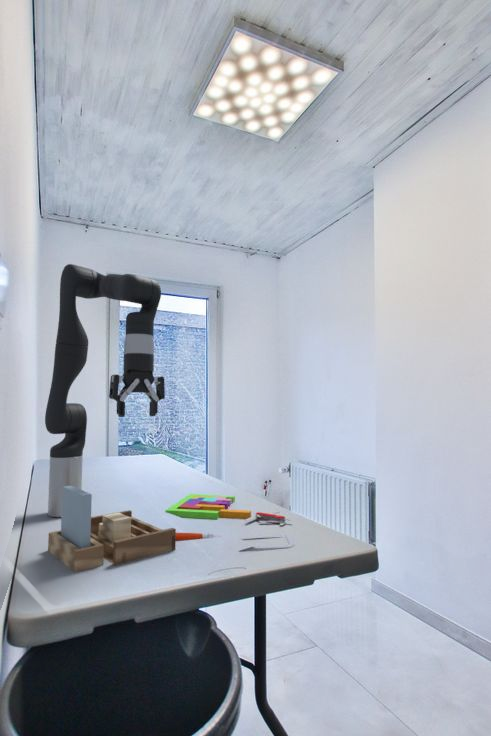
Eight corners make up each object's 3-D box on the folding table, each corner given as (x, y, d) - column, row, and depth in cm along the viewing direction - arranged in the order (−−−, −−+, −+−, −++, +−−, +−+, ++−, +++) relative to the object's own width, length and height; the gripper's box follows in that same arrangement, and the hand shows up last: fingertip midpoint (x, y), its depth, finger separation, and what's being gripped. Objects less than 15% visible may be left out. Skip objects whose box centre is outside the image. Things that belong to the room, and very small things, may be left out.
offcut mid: (98, 533, 99) (98, 523, 100) (114, 529, 102) (115, 520, 102) (113, 541, 93) (113, 531, 94) (130, 537, 96) (130, 527, 96)
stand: (44, 556, 94) (45, 533, 94) (76, 549, 98) (77, 527, 99) (71, 579, 82) (72, 552, 82) (106, 569, 86) (107, 544, 87)
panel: (60, 551, 94) (62, 486, 95) (68, 549, 95) (70, 485, 96) (80, 567, 85) (82, 495, 86) (89, 565, 86) (91, 494, 87)
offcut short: (102, 525, 98) (102, 515, 98) (118, 522, 101) (119, 512, 101) (113, 531, 94) (114, 520, 94) (130, 527, 96) (131, 517, 96)
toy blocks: (165, 518, 127) (248, 522, 122) (165, 510, 127) (248, 514, 122) (190, 500, 149) (261, 504, 144) (190, 494, 149) (261, 497, 144)
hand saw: (288, 528, 110) (302, 541, 100) (288, 540, 110) (301, 554, 100) (159, 531, 103) (160, 545, 93) (158, 544, 103) (159, 560, 93)
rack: (74, 544, 102) (75, 520, 102) (129, 532, 111) (129, 510, 112) (115, 571, 86) (116, 542, 86) (175, 554, 95) (175, 528, 95)
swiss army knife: (302, 520, 124) (302, 513, 124) (279, 531, 112) (279, 523, 112) (267, 514, 130) (267, 508, 130) (243, 524, 118) (243, 517, 119)
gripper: (156, 356, 118) (155, 415, 117) (106, 352, 109) (104, 416, 107) (170, 354, 112) (169, 416, 111) (118, 349, 103) (116, 417, 102)
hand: (137, 416), depth 109 cm, fingers open, 8 cm apart
